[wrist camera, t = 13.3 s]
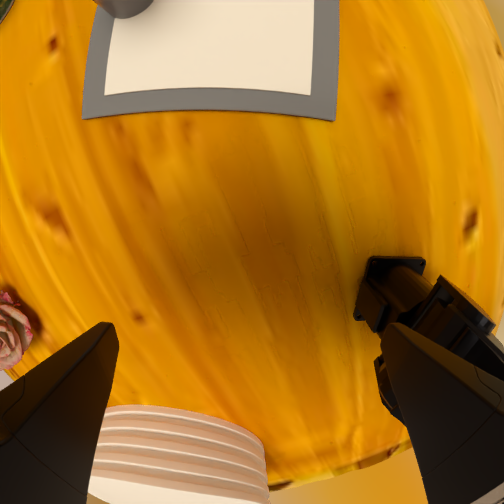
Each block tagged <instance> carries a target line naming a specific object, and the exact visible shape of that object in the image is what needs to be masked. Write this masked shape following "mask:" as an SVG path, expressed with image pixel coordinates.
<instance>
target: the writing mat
mask: <svg viewBox="0 0 504 504" xmlns="http://www.w3.org/2000/svg"><path fill="white" fill-rule="evenodd" d="M338 65H339V0H154V1H153V2H152V4H151V5H150V6H149V7H148V8H147V9H146V10H144V11H143V12H141V13H140V14H138V15H136V16H134V17H131V18H126V19H117V18H114V17H112V16H111V15H110V14H109V13H107V12H106V11H105V10H104V9H103V8H101V7H100V6H99V5H98V6H97V10H96V14H95V18H94V23H93V28H92V33H91V38H90V44H89V50H88V56H87V63H86V71H85V80H84V91H83V105H82V119H91V118H97V117H104V116H112V115H120V114H130V113H141V112H155V111H175V110H230V111H250V112H264V113H276V114H286V115H294V116H302V117H310V118H317V119H323V120H329V121H335V118H336V104H337V87H338Z"/></svg>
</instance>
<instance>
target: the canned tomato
mask: <svg viewBox="0 0 504 504" xmlns="http://www.w3.org/2000/svg"><path fill="white" fill-rule="evenodd" d="M13 2H14V0H0V23H1V22H2V21H3V19H4V18H5V16H6V15H7V13H8V12H9V10H10V8H11V6H12V4H13Z"/></svg>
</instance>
